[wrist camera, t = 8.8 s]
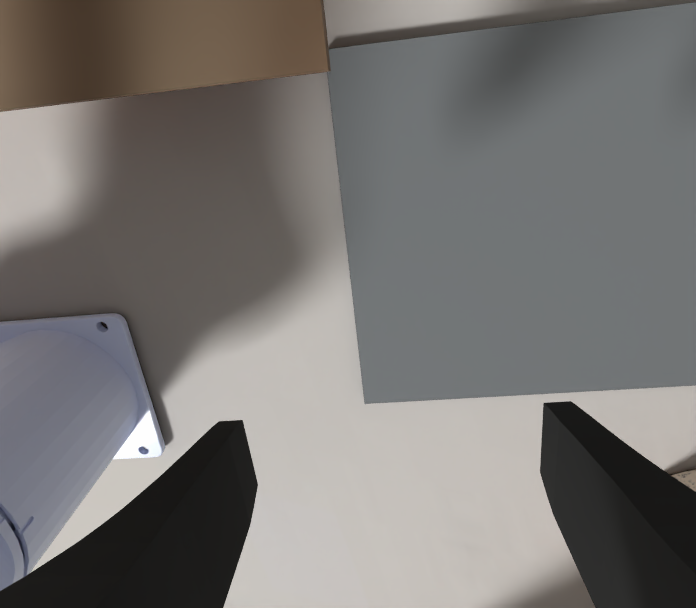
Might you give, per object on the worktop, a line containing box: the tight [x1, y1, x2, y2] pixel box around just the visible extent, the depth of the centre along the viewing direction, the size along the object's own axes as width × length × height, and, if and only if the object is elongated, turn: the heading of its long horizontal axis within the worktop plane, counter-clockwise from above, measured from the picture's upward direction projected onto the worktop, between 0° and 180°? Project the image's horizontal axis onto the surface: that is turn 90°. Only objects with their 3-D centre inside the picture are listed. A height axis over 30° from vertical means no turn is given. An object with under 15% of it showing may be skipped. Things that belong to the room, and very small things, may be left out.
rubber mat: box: [327, 2, 696, 404], centre depth 20 cm, size 15×15×1 cm
